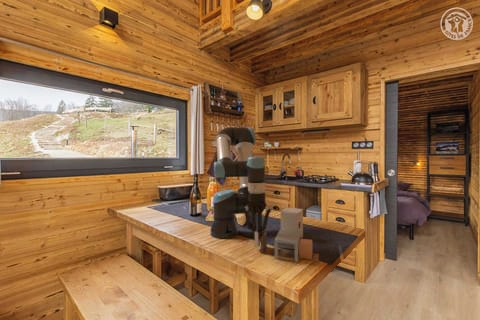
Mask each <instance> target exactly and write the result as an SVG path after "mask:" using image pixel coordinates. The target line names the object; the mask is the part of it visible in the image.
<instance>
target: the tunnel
mask: <svg viewBox="0 0 480 320" xmlns="http://www.w3.org/2000/svg"><path fill="white" fill-rule="evenodd" d="M300 239H302V238H301V231H296V230H286V229H281V228H280V229H279V230H278V232H277V234H276V236H275V238H274V248H275V255H274V260H279V256H278V249H287V250H294V251H295V258H294V262H295V263H298V262H299V259H298V248H299V240H300Z"/></svg>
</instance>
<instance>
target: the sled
mask: <svg viewBox="0 0 480 320" xmlns="http://www.w3.org/2000/svg"><path fill="white" fill-rule="evenodd" d="M260 254H261V255H269V256H275V247H268V233H267V232H266V231H265V232H263V233H262V237H261V239H260ZM278 257H283V258H288V259H289V258H290V259H295V250H294V249H286V248H278ZM319 257H320V254H319V253H314V252H312V259H305V258H299V248H298V260H303V261H311V262H319V261H320V259H319Z"/></svg>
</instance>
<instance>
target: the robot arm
mask: <svg viewBox="0 0 480 320" xmlns="http://www.w3.org/2000/svg"><path fill="white" fill-rule="evenodd" d="M256 143H257V140H256V132H255V130H254V128H253V127H251V126H250V127H249V126H236V127H235V126H228V127H224V128H222V129H221V130H220V131H218V132H217V133H216V136H215V138H214V144H215V146H216V156H217V161H214V162H213V175H214V177H215V178H222V179H223V178H239V188H238V189H237V192H235V190H234V189H223V190H220V191H217V192H215V193H214V194H213V196H212V197H213V199H212V204H213V205H212V206H213V209H212V210H213V220H212V224H211V227H210V236H211V237H212V238H217V239H229V238H234V237H236V236H237V235H239V227H238V224H237V221H236V217H235V216H236V215H244V217H245V220H246V224H247V228H248V230H250V231H251V232H252V238H253V239H254V247H255V248H259V247H260V246H261V237H262V235H263V232H264V231H265V230H267V229H266V228H267V225H268V222H269V218H270V214H271V212H272V211H273V210H272V208H271V207H268V205H267V203H266V163H265V162H266V161H265V157H263V156H253V152H252V151H253V150H252V149H254V146H255V145H256ZM231 146H233V147H234V149H235V150H236V151H237V160H233V155H232V148H231ZM264 211H265V214H264V218H263V212H264Z"/></svg>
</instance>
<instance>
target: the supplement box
mask: <svg viewBox="0 0 480 320" xmlns="http://www.w3.org/2000/svg"><path fill="white" fill-rule="evenodd" d="M303 211H304V208H296V207H289V206H288V207H285V208H283V209H282V210H280V229H286V230H296V231H301V239H304V226H303V225H304V222H303V221H304V216H303V215H304V212H303Z"/></svg>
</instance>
